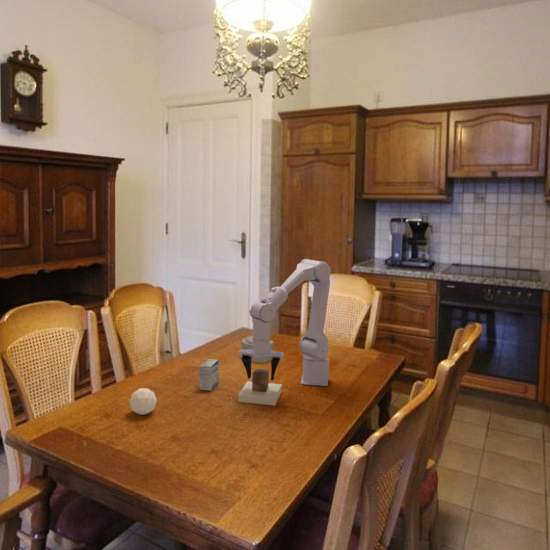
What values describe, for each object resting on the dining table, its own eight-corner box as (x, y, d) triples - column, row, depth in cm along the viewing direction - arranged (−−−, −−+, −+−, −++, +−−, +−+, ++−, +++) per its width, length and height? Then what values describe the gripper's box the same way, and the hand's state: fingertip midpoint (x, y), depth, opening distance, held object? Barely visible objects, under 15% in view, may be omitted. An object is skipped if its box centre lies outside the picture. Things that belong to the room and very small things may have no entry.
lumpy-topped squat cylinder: (262, 364, 195) (262, 343, 193) (235, 358, 201) (235, 337, 200) (275, 357, 203) (276, 337, 202) (250, 352, 210) (250, 332, 209)
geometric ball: (139, 424, 147) (123, 408, 143) (140, 405, 154) (125, 389, 150) (161, 413, 146) (145, 397, 142) (161, 394, 153) (147, 378, 149)
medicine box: (211, 391, 167) (211, 366, 165) (199, 390, 167) (199, 365, 166) (218, 383, 174) (218, 359, 173) (206, 381, 175) (206, 358, 174)
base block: (281, 392, 168) (281, 384, 168) (274, 407, 156) (275, 398, 156) (247, 389, 170) (247, 381, 170) (238, 403, 158) (238, 394, 158)
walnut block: (268, 386, 165) (268, 369, 164) (265, 392, 160) (266, 374, 160) (254, 385, 166) (255, 368, 165) (252, 391, 161) (252, 373, 160)
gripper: (237, 340, 157) (236, 381, 159) (282, 343, 155) (281, 384, 157) (241, 334, 164) (241, 373, 166) (284, 337, 162) (283, 376, 164)
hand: (260, 378), depth 162 cm, fingers open, 7 cm apart
